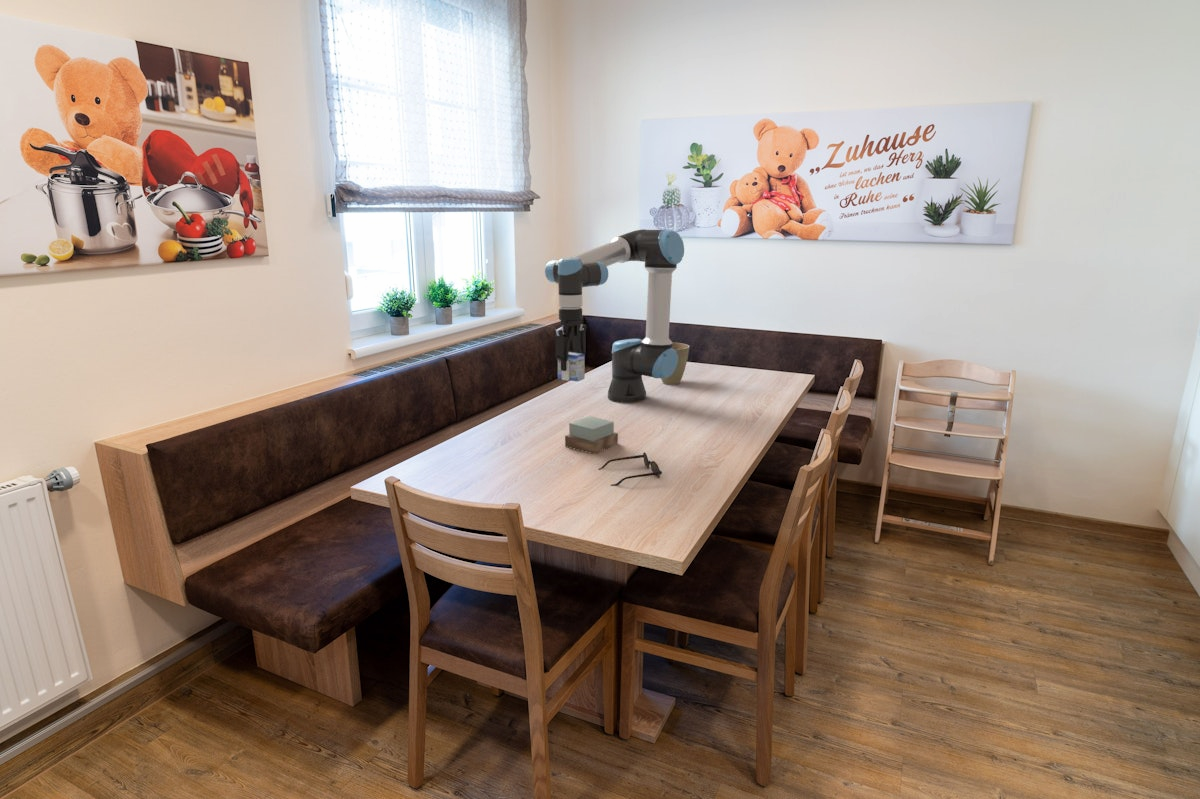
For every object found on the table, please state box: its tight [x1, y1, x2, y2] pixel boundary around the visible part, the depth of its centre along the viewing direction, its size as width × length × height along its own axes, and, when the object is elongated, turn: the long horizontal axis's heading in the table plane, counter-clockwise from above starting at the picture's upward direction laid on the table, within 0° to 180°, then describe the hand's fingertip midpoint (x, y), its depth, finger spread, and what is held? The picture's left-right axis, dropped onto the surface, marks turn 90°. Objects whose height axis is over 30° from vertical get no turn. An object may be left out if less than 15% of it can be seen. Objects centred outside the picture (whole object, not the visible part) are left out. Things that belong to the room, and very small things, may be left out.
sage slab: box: [568, 415, 615, 442], centre depth 229 cm, size 10×10×4 cm
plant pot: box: [661, 342, 690, 386], centre depth 303 cm, size 15×15×16 cm
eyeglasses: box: [598, 451, 663, 487], centre depth 205 cm, size 15×15×5 cm
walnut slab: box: [564, 432, 619, 455], centre depth 230 cm, size 12×12×4 cm
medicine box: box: [557, 351, 586, 382], centre depth 235 cm, size 8×4×9 cm, turn 60°
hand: (571, 378), depth 236 cm, fingers closed on medicine box, 5 cm apart
